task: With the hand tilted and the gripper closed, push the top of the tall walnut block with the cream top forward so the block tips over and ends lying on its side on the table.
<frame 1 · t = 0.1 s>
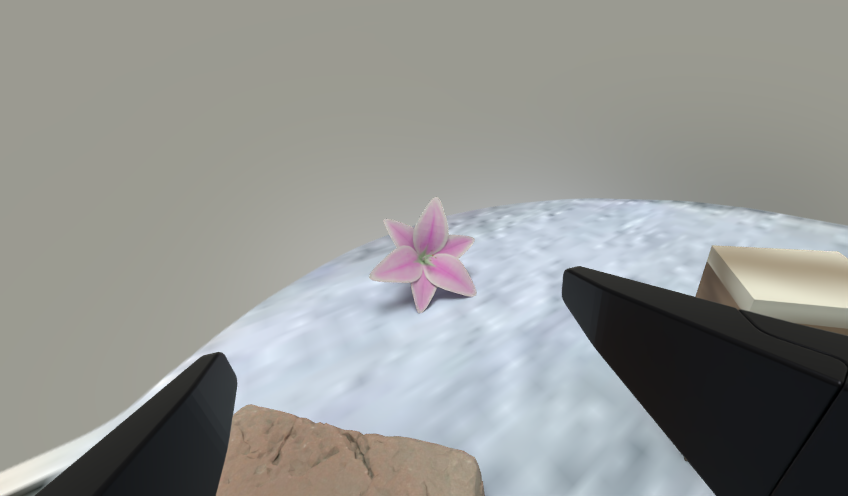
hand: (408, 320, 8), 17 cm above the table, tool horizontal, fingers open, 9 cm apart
lily: (431, 291, 38), on the table
walnut block: (721, 433, 21), on the table
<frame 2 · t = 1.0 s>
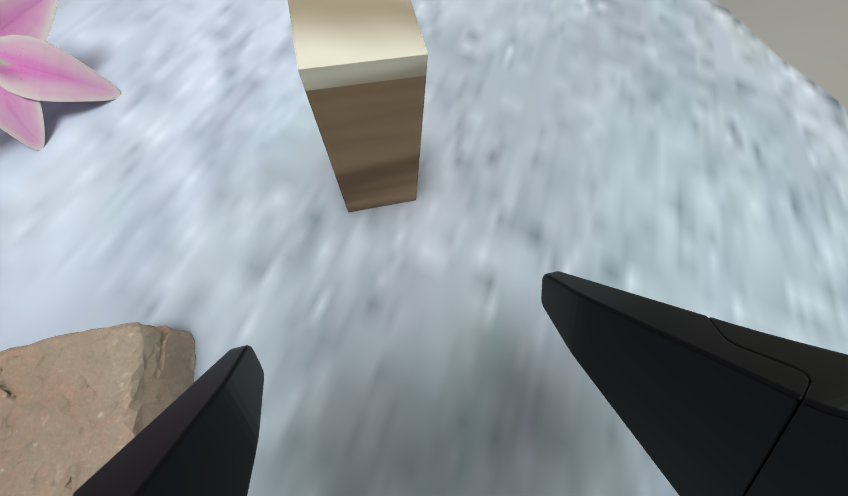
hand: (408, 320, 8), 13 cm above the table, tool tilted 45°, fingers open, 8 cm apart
lily: (46, 107, 25), on the table
brick: (43, 431, 18), on the table
walnut block: (376, 176, 24), on the table
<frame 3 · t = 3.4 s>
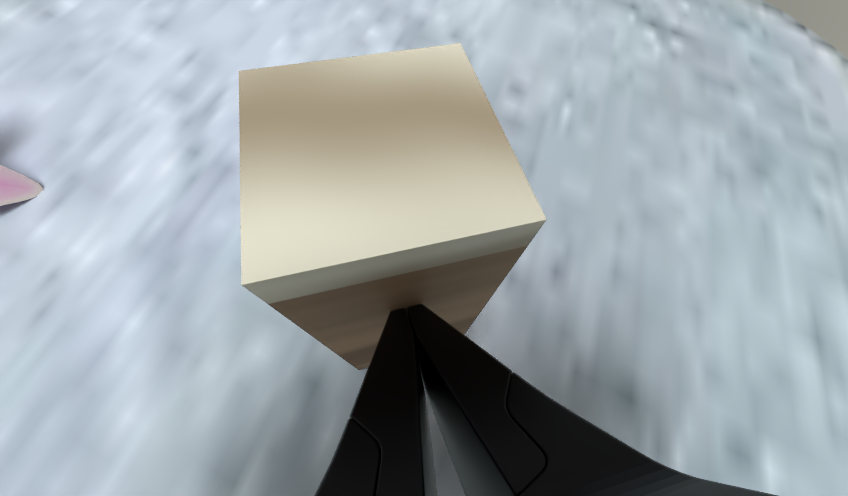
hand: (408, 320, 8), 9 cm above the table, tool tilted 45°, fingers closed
walnut block: (398, 308, 17), on the table, tilted 7°
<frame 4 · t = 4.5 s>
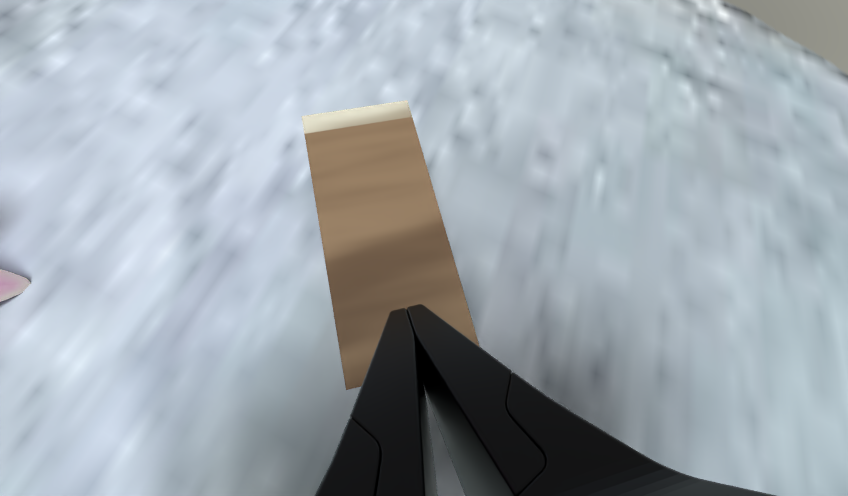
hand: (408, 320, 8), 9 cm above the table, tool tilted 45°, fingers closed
walnut block: (413, 369, 14), point 2 cm above the table, tilted 90°
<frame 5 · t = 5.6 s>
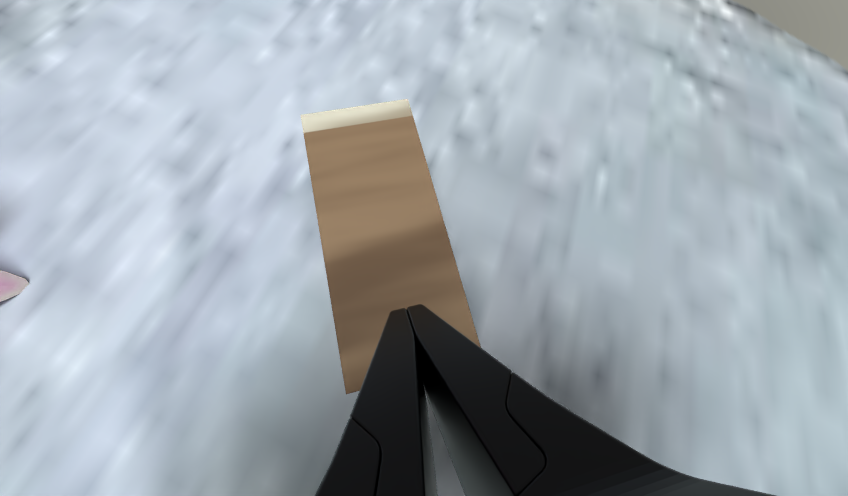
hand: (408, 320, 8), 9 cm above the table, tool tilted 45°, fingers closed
walnut block: (414, 372, 14), point 2 cm above the table, tilted 90°
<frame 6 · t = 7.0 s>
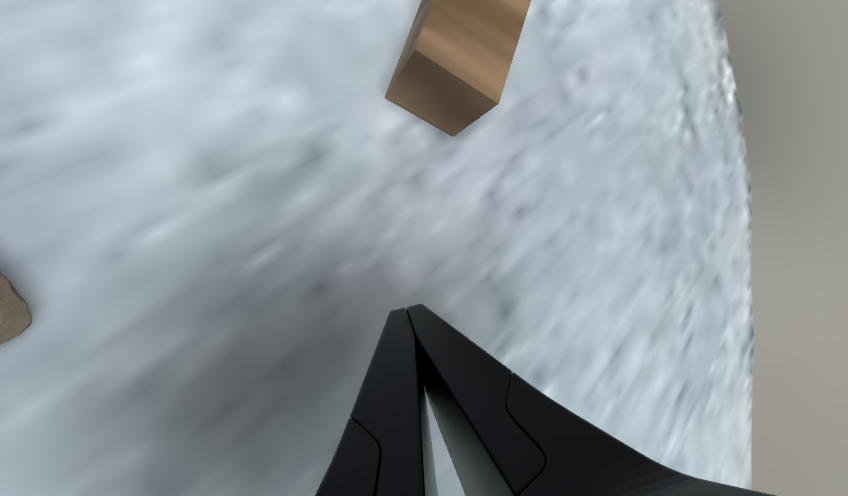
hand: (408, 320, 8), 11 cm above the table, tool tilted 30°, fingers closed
walnut block: (437, 100, 18), point 2 cm above the table, tilted 90°
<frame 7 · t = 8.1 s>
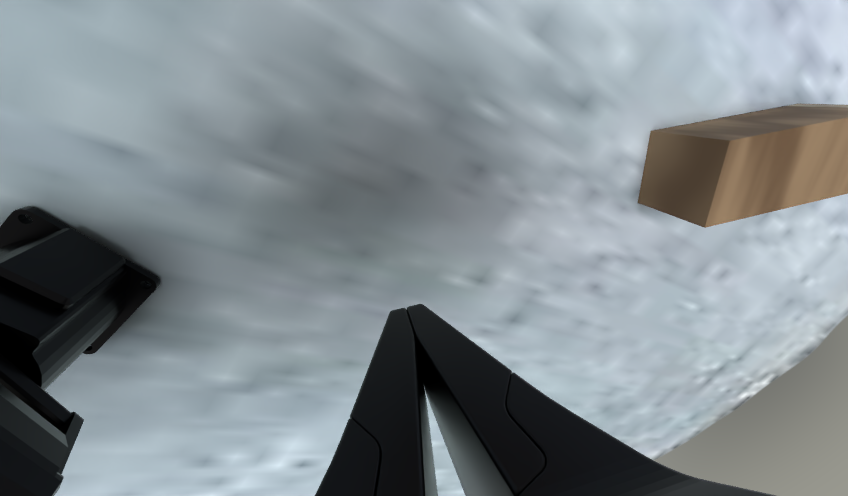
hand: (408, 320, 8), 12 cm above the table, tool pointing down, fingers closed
walnut block: (676, 176, 20), point 2 cm above the table, tilted 90°
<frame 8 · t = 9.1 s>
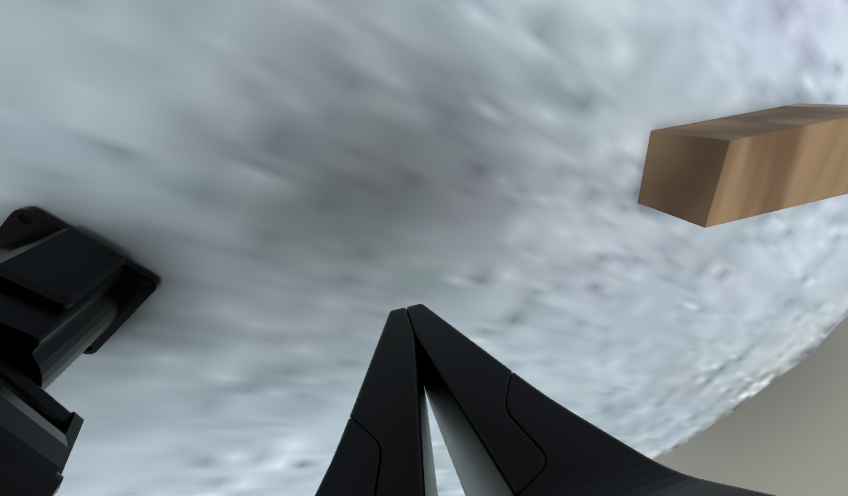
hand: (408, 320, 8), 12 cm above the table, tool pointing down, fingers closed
walnut block: (676, 176, 20), point 2 cm above the table, tilted 90°
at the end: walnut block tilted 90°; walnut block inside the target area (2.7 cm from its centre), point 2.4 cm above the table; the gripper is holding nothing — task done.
